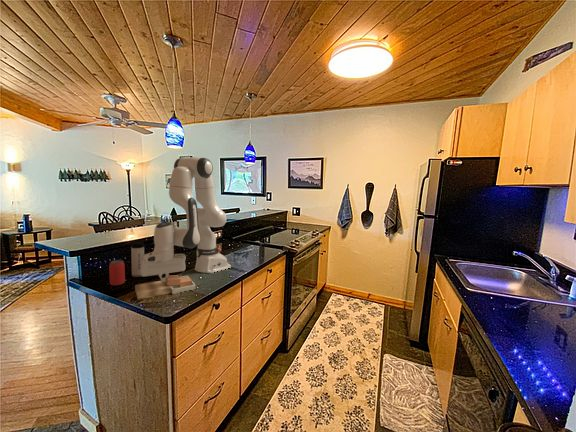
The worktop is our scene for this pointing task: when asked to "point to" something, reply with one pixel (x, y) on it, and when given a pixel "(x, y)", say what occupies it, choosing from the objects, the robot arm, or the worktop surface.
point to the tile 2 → (185, 282)
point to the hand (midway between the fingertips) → (163, 281)
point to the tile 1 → (173, 280)
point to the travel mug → (137, 257)
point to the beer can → (117, 272)
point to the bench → (152, 289)
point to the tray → (177, 289)
